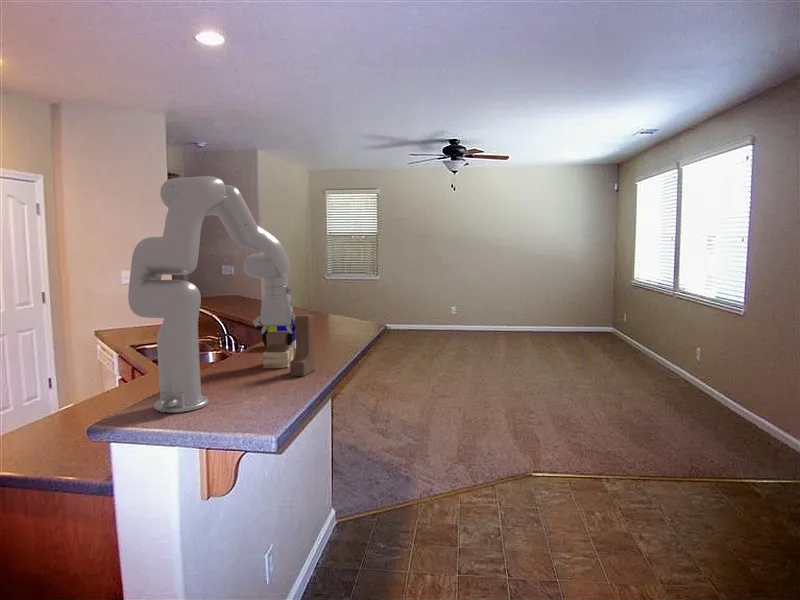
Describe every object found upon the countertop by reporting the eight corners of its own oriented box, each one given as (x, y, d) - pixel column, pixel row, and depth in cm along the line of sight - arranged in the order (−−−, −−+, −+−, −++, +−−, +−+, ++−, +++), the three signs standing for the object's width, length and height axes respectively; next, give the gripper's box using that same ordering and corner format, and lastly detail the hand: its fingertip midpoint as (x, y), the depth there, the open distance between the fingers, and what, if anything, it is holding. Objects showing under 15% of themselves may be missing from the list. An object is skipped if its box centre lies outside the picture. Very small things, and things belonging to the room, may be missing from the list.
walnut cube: (285, 352, 180) (284, 334, 180) (266, 352, 181) (266, 334, 180) (289, 348, 186) (288, 331, 186) (271, 348, 187) (271, 331, 186)
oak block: (287, 367, 180) (287, 352, 179) (263, 367, 180) (263, 352, 180) (293, 362, 188) (293, 348, 187) (270, 362, 188) (269, 348, 188)
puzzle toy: (294, 349, 212) (294, 323, 211) (268, 349, 212) (268, 323, 211) (299, 344, 222) (299, 319, 221) (275, 344, 222) (274, 319, 221)
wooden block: (303, 377, 167) (301, 318, 165) (290, 376, 168) (288, 317, 166) (315, 370, 176) (313, 314, 174) (302, 369, 177) (300, 314, 175)
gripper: (304, 290, 185) (306, 342, 187) (253, 290, 185) (255, 343, 187) (300, 292, 177) (301, 346, 179) (246, 292, 178) (248, 347, 180)
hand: (278, 344), depth 183 cm, fingers open, 7 cm apart
